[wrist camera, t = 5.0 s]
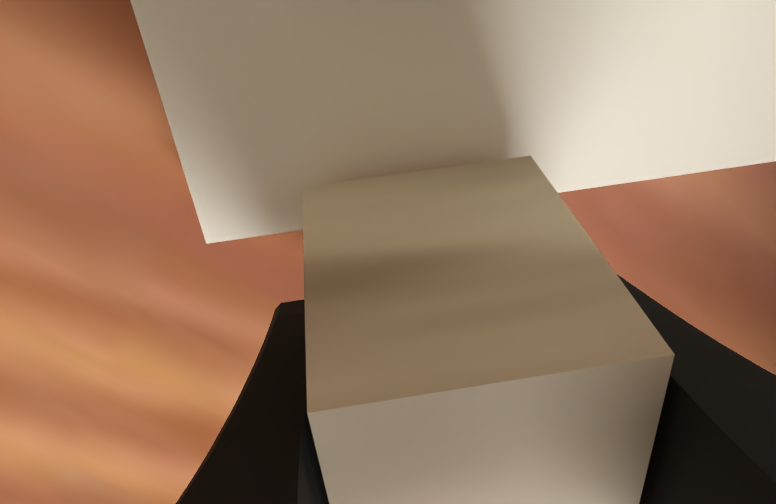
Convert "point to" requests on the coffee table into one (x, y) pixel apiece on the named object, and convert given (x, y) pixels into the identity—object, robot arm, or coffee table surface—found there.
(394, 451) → the block
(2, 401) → the coffee table surface
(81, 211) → the coffee table surface
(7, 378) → the coffee table surface
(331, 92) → the white base plate
